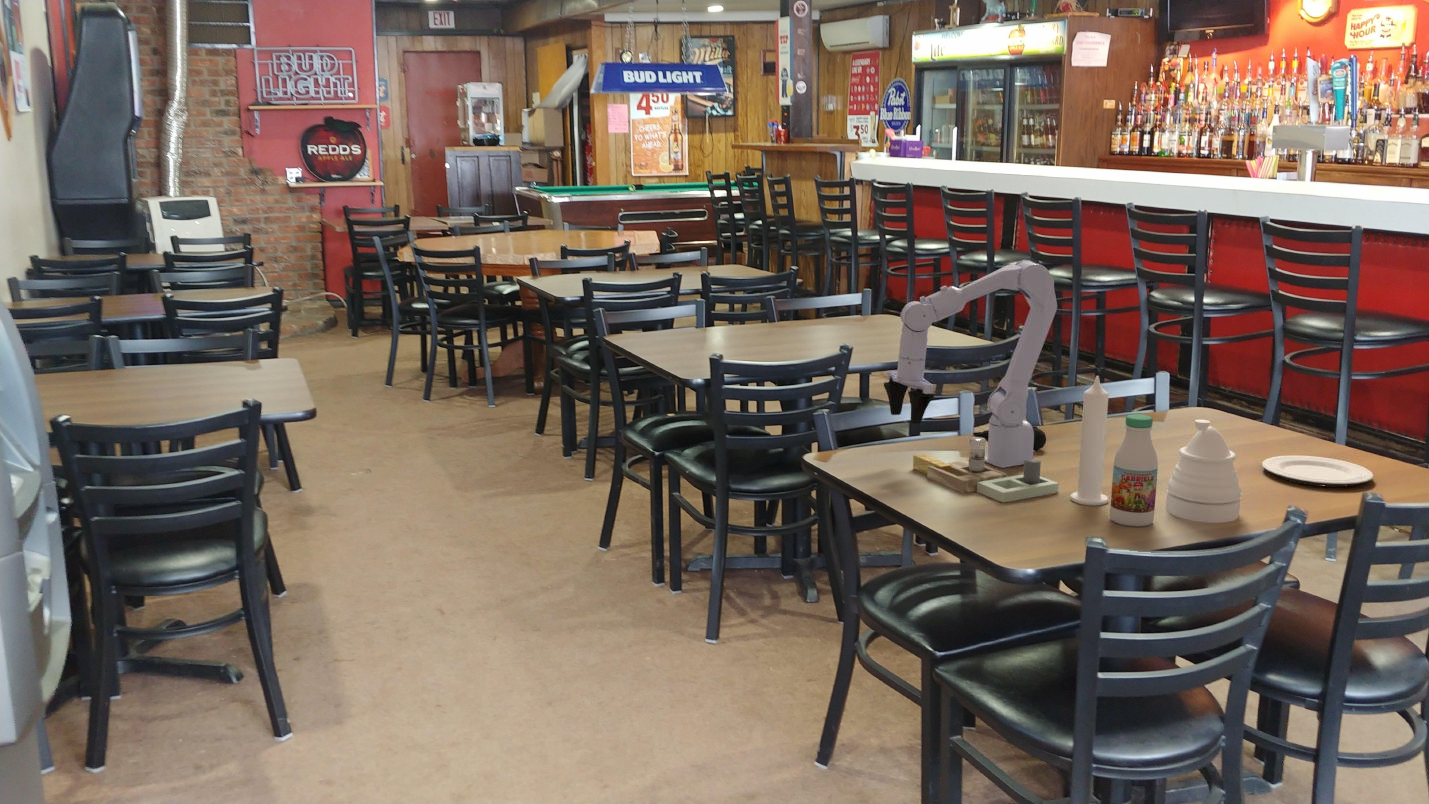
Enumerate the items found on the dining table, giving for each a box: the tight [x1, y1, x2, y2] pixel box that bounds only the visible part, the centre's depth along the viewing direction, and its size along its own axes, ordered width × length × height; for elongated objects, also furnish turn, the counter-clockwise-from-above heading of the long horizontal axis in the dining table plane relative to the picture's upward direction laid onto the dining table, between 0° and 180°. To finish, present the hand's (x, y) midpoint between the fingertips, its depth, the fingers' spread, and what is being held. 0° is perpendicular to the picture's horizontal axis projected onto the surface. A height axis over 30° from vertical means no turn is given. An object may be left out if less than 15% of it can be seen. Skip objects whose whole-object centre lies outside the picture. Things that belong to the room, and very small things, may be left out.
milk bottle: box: [1109, 413, 1159, 528], centre depth 210 cm, size 8×8×20 cm
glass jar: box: [968, 436, 987, 474], centre depth 237 cm, size 3×3×9 cm
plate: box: [1261, 455, 1374, 487], centre depth 240 cm, size 21×21×2 cm
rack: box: [976, 458, 1060, 503], centre depth 230 cm, size 14×8×6 cm, turn 116°
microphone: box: [972, 426, 1047, 451], centre depth 267 cm, size 6×6×20 cm
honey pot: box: [1165, 419, 1242, 524], centre depth 216 cm, size 13×13×18 cm
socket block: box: [927, 459, 1008, 494], centre depth 237 cm, size 11×12×2 cm
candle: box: [1069, 375, 1110, 506], centre depth 222 cm, size 7×7×25 cm
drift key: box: [912, 453, 951, 476], centre depth 243 cm, size 2×10×3 cm, turn 26°
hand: (905, 418), depth 249 cm, fingers open, 7 cm apart
